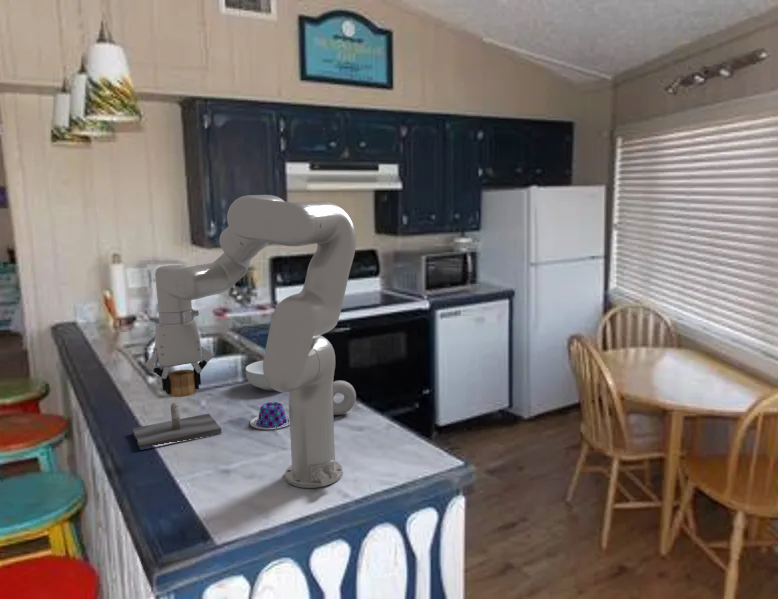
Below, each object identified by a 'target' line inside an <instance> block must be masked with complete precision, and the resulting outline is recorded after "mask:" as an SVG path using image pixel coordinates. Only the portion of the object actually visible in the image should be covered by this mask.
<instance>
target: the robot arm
mask: <svg viewBox="0 0 778 599" xmlns="http://www.w3.org/2000/svg"><path fill="white" fill-rule="evenodd" d="M226 221H227V225H228V226H227V227H226V228H225V229H224V230H223V231H222V232H221V233H220V236H219V246H220V247H221V250H222V251H223V253H222V254H221V255H220V256H219V257H218V258H217V259H216V260H214V261H213V262H208V263H204V264H198V265H193V266H192V265H191V266H186V265H181V264H171V265H169V264H168V265H163V266H162V265H161V266H159V267H157V268H156V269H155V271H154V272H155V273H154V276H155V285H156V286H155V288H156V297H157V299H156V300H157V308H158V321H159V323H157V324H155V332H154V333H155V334H154V348H155V349H154V351H155V352H154V353H153V354H152V355H151V357H150V358H149V359H148V360H147V362H145V366H146V368H147V369H149V370H150V371H152V372H153V373H155V374H156V375H157V376H159V377H160V378H161V387H162V391H164V392H165V393H166V395H169V394H171V389H170V379H169V378H168V373H170V369H171V367H176V366H181V365H188V364H189V365H190V364H191V366H192V368H193V369H192V370H193V371H194V376H195V388H196V390H200V385H201V384H202V381H201V380H202V379H201V372H202V370H204V368H205V367H206V365H208V363H209V361H210V360H211V359H212V358H213V354H212V353H210V352H209V351H208V350H207V349H205V348H204V347H203V346H202V343H201V337H200V332H199V329H198V325H197V321H196V320H195V319H194V318H195V317H197V316H199V315H200V314H199V310H195V309H193V306H192V304H193V303H192V301H195V300H200V299H203V298H206V297H211V296H215V295H216V296H217V295H219V294H222V293H224V292H226V291H228V290H229V289H231V288H232V287H233V286H234V285H235V284H236V283H237V282H239V281H240V280H241V279H242V278H243V277H245V275H246V273H247V272H248V270H249V268H250V265H251V261H252V260H253V259H254V257H255V256H257V255H258V254H260V252H261V251H262V250H263V249H265V248H266V247H267V246H268V245H269V244H270V245H279V246H283V247H305V246H310V245H314V244H315V245H316V244H317V245H316V246H317V247H316V250H315V252H314V254H313V255H312V257H311V259H310V262H309V264H308V267H307V271H306V275H305V281H304V284H303V287H302V289H301V291H300V292H298V293H295V294H291V295H289V296H287V297H286V298H284V299H282V300H281V301H280V302H279V303H278V304H277V306H276V308H275V310H274V312H273V314H272V316H271V321H270V326H269V330H268V336H267V340H266V346H265V350H264V355H263V360H262V361H263V372H264V376H265V379H266V381H267V383H268V384H269V385H270V387H272V388H273V389H274V390H273V391H276V392H280V393H288V414H289V421H290V425H289V437H290V452H291V455H290V456H291V464H290V465H289V466H288V467H287V468H286V470H285V472H284V473H285V474H284V478H285V480H286V482H287V483H289V484H290V485H292V486H294V487H297V488H302V489H303V488H304V489H314V488H315V489H316V488H322V487H326V486H330V485H333V484H334V483H336V482H338V481H339V480H340V479H341V478H342V476H343V466H342V465H341V464H340V463H339V462H338V461H336V449H335V448H336V447H335V426H334V425H335V424H334V421H335V420H334V415H333V400H334V397H333V382H334V376H335V369H336V354H335V349H334V347H333V344H331V342H330V341H329V340H328V339H327V338H326V337H325V336H323V335H325V334H327V333H328V332H330V331H332V330H333V329H334V328H335V327H336V326H337V325H338V322H339V319H340V317H341V316H340V315H341V312H342V308H343V303H344V299H345V294H346V291H347V288H348V281H349V277H350V272H351V268H352V265H353V261H354V258H355V252H356V248H357V234H356V233H357V232H356V228H355V226H354V223H353V221H352V219H351V217H350V216H349V214H348V213H347V212H346V211H345V210H344V209H343V208H342V207H340V206H339V205H337V204H335V203H333V202H329V201H323V200H322V201H321V200H315V201H312V200H311V201H296V202H295V201H294V202H292V201H291V202H290V201H285V200H284V199H282V198H280V197H279V196H276V195H274V194H273V195H271V194H253V195H252V194H248V195H243V196H240V197H238V198H236V199H234V201H233V202H232V203H231V204H230V205H229V208H228V210H227V214H226ZM156 362H157V363H158V364H159V366H160V367H161V368H160V367H157V365H155V363H156ZM169 396H170V395H169Z"/></svg>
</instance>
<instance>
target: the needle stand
mask: <svg viewBox="0 0 778 599" xmlns="http://www.w3.org/2000/svg"><path fill="white" fill-rule="evenodd" d="M170 414H171V416H170V417H171V420H168V421H162V422H159V423H157V422H156V423H154V424H149V425H144V426H137V427H132V433H133V432H134V435H135V437H136V439H137V441H138V444H139V446H140V447H145V446H152V445H158V444H164V443H169V442H177V441H183V440H189V439H194V440H196V439H195V438H199V439H201V438H200V437H204V438H207V437H206V436H209V437H213V436H217V435H216V434H218V435H221V433H223V432H222V427H221V426H220V425H219V424H218V422H217V421H216V420H215V419H214V418H213V416H211V414H210V413H205V414H199V415H194V416H190V417H185V418H181V416H180V404H179V403H177V402H172V403H171V405H170ZM134 435H133V436H134ZM212 435H213V436H212ZM138 444H137V445H138Z"/></svg>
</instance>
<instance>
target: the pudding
mask: <svg viewBox="0 0 778 599" xmlns="http://www.w3.org/2000/svg"><path fill="white" fill-rule="evenodd" d="M260 406H261V407H260V408H259V412H258V416H256V417H254V418H253V419H251V420H250V423H249V424H250V426H252V427H253V428H255V429H260V430H276V429H280V428H284V427H288V426H290V423H289V424H287V423H288V420H287V418H286V416H288V417H289V413H286V412H285V409H284V405H283V404H282V403H280V402H277V401H274V402H271V401H270V402H266V403H264V404H262V405H260ZM257 419H258V422H257V423H258V424H259V425H258V424H257V425H258V426H259V427H258V426H256V425H255V424H254V421H255V420H257ZM286 422H287V423H286ZM284 423H286V424H287V425H285V424H284ZM281 425H285V426H282V427H281ZM275 426H276V427H277V428H276V427H275ZM279 426H280V427H279Z"/></svg>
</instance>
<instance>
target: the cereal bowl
mask: <svg viewBox="0 0 778 599" xmlns="http://www.w3.org/2000/svg"><path fill="white" fill-rule="evenodd" d="M245 376H246V380H247V381H248V382H249V383H250V384H251V385H252V386H254V387H256V388H260V389H262V390H263V391H275V390H274V389H273V388H272V387H270V385H269V384H268V383H267V381H266V379H265V376H264V372H263V360H258V361H255V362H252V363H250V364H248V365H247V366H246V367H245Z"/></svg>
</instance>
